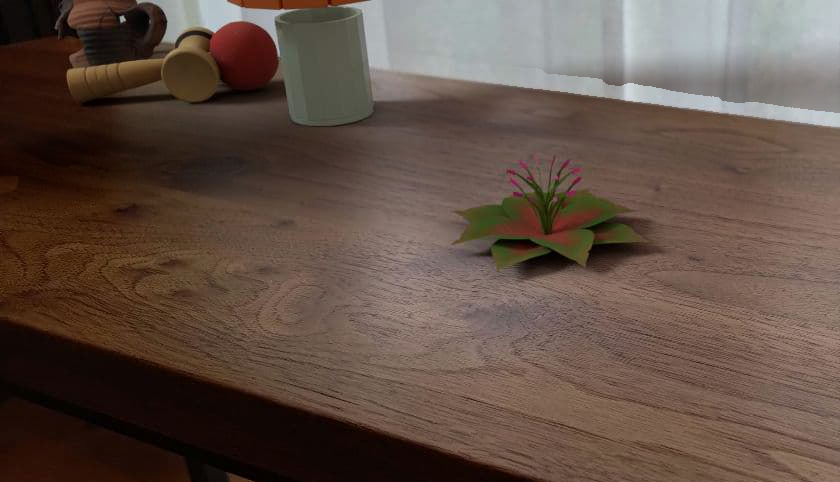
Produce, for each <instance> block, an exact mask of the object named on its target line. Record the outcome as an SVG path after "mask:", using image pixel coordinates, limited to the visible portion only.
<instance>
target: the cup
mask: <svg viewBox="0 0 840 482" xmlns="http://www.w3.org/2000/svg"><path fill="white" fill-rule="evenodd" d="M274 27H275V33H276V38H277V45H278V51H279V57H280V63H281V68H282V76H283V80H284V88H285V94H286V98H287V105H288V112H289V117H290V120H291V121H292V122H293V123H296V124H298V125H303V126H307V127H308V126H309V127H331V126H341V125H347V124H351V123H355V122H358V121H359V122H360V121H362V120H364V119H366V118H368V117H371V115H373V114H374V112H375V107H374V106H375V103H374V95H373V89H372V82H371V81H372V80H371V71H370V64H369V55H368V47H367V46H368V45H367V38H366V31H365V23H364V13H363V11H362V9H360V8H357V7H354V6H346V5H340V6H334V7H333V6H330V5H329V6H328V7H324V8H308V9H292V10H288V11H285V12H282V13H279V14H277V15H276V16H274Z"/></svg>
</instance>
